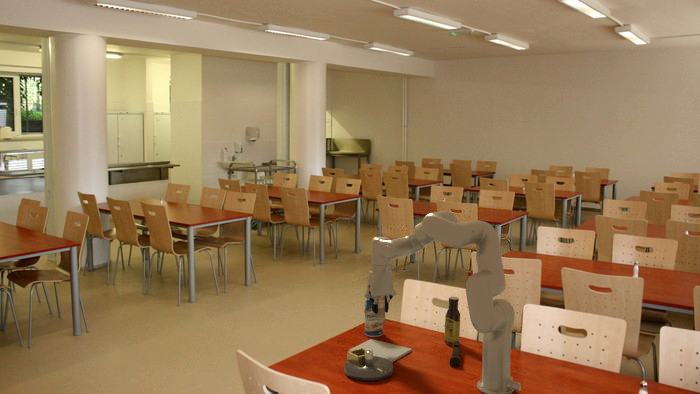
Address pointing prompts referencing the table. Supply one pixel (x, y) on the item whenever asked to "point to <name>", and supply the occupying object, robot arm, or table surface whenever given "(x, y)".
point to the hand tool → (455, 355)
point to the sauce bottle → (452, 322)
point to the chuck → (367, 366)
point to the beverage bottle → (371, 321)
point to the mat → (384, 349)
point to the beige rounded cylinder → (380, 311)
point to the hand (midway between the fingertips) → (380, 311)
